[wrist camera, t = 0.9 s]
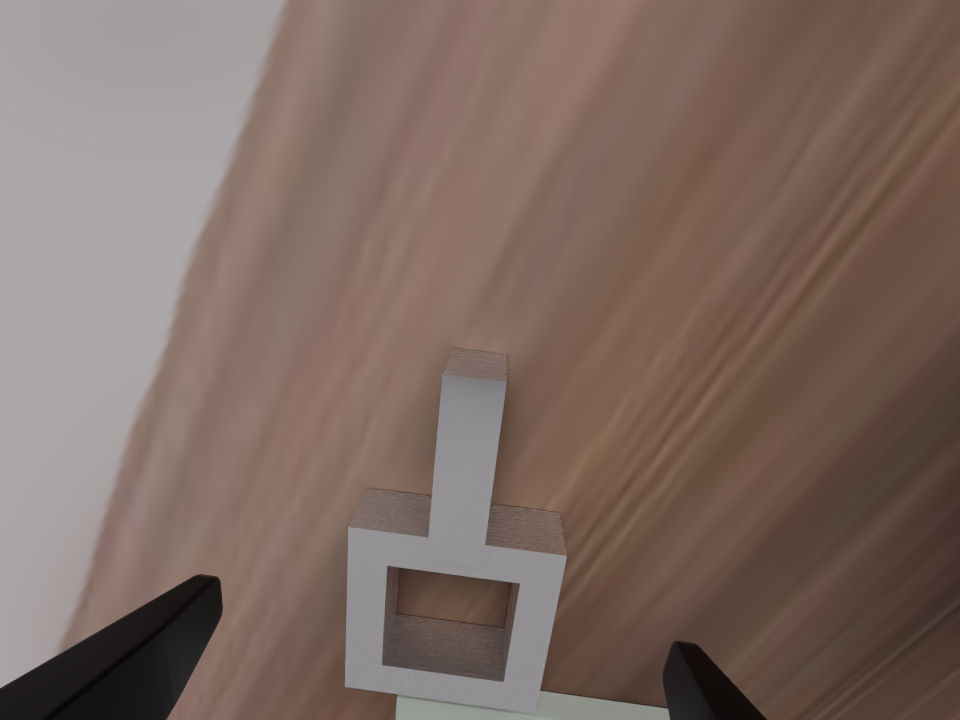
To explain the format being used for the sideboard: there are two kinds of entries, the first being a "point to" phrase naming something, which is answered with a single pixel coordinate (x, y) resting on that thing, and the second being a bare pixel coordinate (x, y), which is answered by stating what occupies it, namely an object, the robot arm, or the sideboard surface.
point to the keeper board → (554, 716)
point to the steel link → (455, 563)
